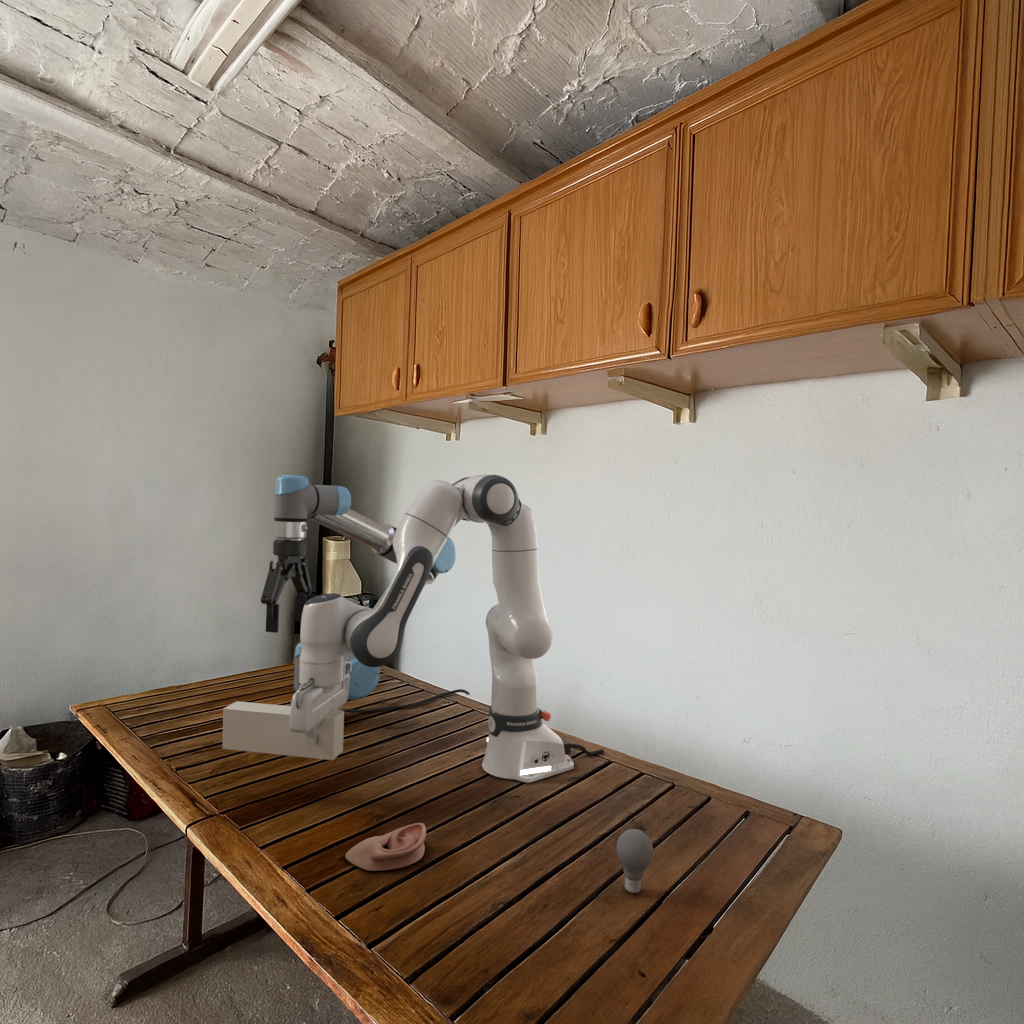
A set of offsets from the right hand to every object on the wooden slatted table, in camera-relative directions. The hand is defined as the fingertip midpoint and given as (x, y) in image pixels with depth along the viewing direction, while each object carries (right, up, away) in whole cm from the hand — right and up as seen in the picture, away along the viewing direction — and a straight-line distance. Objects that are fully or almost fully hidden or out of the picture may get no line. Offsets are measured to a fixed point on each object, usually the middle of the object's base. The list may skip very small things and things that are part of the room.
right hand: (319, 738), depth 132 cm
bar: (-8, -3, +1) cm, 9 cm away
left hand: (-15, +19, +22) cm, 33 cm away
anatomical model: (+18, -14, -18) cm, 29 cm away
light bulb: (+60, -16, -26) cm, 67 cm away
